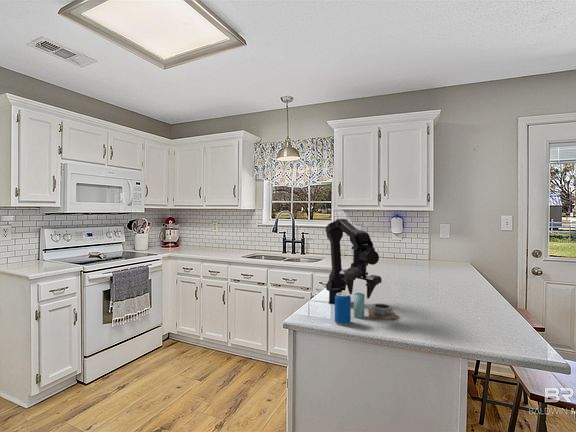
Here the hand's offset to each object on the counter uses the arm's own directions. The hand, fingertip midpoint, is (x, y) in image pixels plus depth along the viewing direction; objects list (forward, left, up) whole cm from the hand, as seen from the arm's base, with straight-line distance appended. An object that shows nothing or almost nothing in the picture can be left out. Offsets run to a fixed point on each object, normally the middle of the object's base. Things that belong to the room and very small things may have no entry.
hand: (359, 296), depth 142 cm
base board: (+10, +4, -9) cm, 14 cm away
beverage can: (-7, -9, -9) cm, 15 cm away
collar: (+10, +4, -9) cm, 14 cm away
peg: (0, 0, -9) cm, 9 cm away
